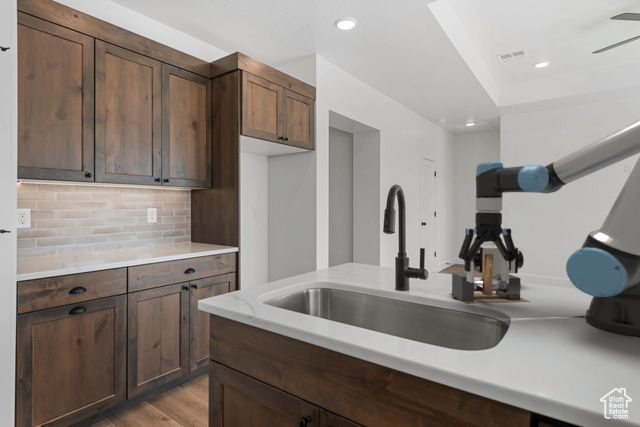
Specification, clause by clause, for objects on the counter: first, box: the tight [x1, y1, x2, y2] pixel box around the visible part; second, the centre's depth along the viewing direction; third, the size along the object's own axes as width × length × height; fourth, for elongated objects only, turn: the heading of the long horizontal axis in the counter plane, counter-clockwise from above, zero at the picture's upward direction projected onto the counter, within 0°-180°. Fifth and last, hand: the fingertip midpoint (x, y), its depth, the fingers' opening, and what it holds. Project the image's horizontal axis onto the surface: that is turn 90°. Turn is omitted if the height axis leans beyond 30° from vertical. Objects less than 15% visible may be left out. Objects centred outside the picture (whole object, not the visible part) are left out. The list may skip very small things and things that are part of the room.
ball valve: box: [471, 242, 525, 281], centre depth 134 cm, size 18×8×18 cm, turn 84°
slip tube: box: [474, 253, 522, 296], centre depth 113 cm, size 20×10×14 cm, turn 95°
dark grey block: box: [451, 271, 475, 302], centre depth 116 cm, size 7×4×8 cm, turn 5°
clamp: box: [495, 274, 521, 300], centre depth 117 cm, size 7×4×7 cm, turn 5°
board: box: [449, 292, 531, 305], centre depth 117 cm, size 12×22×1 cm, turn 95°
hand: (487, 281), depth 109 cm, fingers open, 11 cm apart
